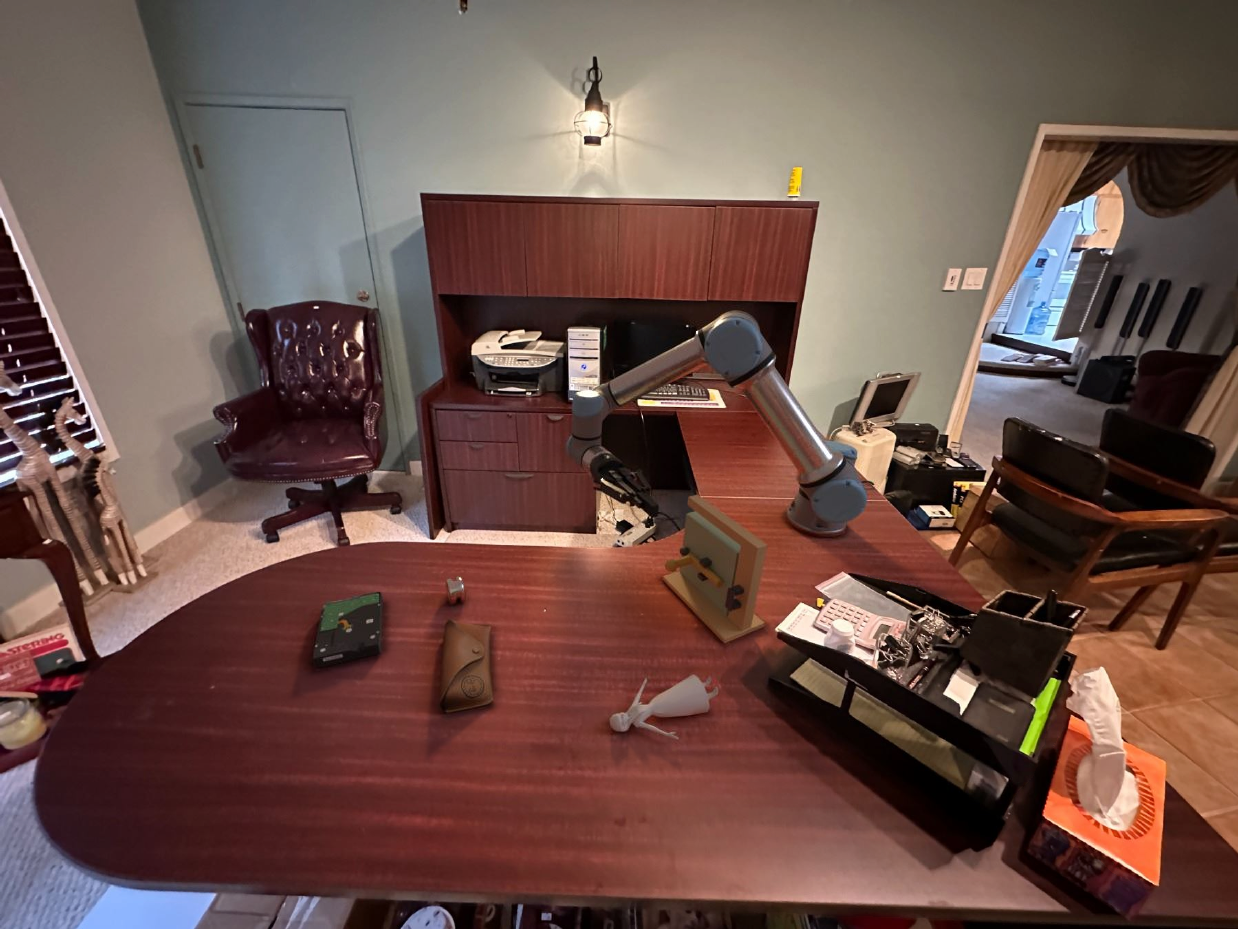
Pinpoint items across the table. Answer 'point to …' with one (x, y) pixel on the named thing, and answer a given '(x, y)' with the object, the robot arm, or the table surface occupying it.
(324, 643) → the disk drive
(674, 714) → the woman figurine
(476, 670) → the sunglasses case
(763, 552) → the door
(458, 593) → the grooved metal pulley
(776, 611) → the table surface
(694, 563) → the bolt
